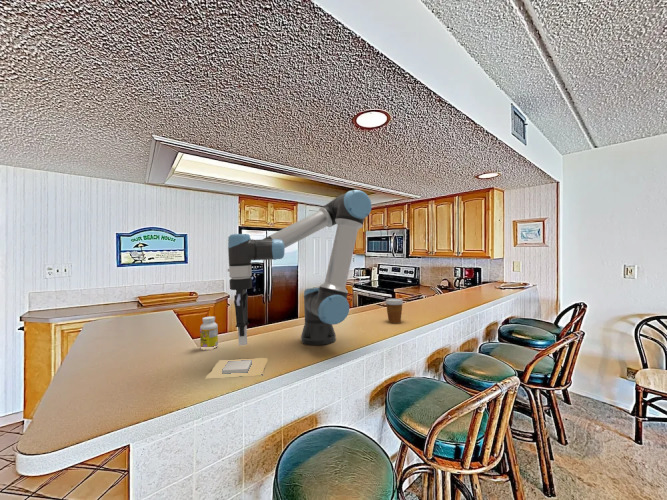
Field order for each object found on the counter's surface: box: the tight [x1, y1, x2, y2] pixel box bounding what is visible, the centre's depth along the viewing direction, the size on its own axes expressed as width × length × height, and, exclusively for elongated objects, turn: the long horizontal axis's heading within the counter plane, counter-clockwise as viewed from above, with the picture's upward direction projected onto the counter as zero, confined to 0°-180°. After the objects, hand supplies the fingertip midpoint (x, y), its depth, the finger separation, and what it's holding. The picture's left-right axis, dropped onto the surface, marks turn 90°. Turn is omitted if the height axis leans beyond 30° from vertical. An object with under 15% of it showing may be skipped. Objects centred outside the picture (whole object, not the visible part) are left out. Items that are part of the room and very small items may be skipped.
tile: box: [222, 360, 252, 374], centre depth 100 cm, size 8×2×8 cm
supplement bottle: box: [199, 315, 219, 348], centre depth 124 cm, size 7×7×13 cm
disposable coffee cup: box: [384, 298, 404, 324], centre depth 162 cm, size 10×10×12 cm
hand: (243, 344), depth 106 cm, fingers closed
